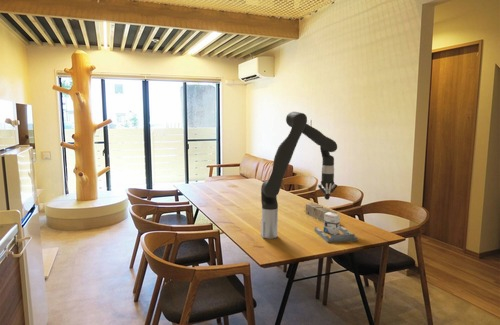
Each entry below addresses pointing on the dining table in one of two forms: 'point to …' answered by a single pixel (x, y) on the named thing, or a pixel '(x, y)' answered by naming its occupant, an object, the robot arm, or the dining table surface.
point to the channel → (337, 236)
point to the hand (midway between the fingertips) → (327, 199)
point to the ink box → (331, 223)
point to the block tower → (317, 211)
